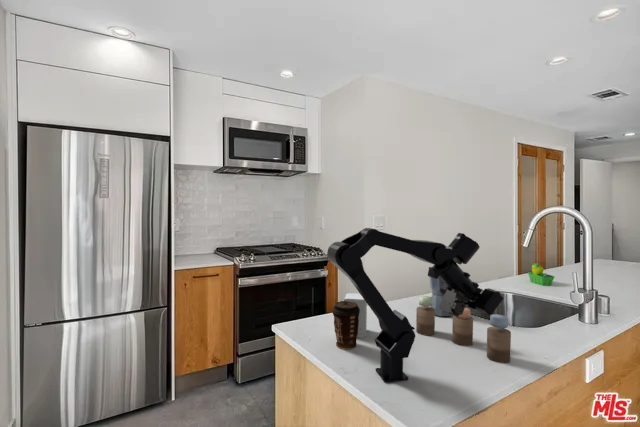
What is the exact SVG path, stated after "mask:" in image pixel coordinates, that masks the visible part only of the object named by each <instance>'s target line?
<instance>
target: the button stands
mask: <svg viewBox="0 0 640 427" xmlns="http://www.w3.org/2000/svg"><path fill="white" fill-rule="evenodd" d="M415 315H416V316H415V317H416V320H415V323H416V324H415V326H416V327H415V329H416V330H415V332H416V333H417V334H419V335H422V336H434V335H435V332H436V331H435V329H436V325H435V324H436V321H435V320H436V315H435V309H434V308H431V307H425V306H421V305H419V306H416V314H415ZM451 331H452V333H451V335H452V337H451V339H452V340H451V341H452V343H454V344H455V345H458V346H462V347H470V346H471V347H472V345H473V344H474V343H473V341H474V317H473V316H471V315H470V318H469V319H461V318H458V317H456V316H454V315H452V330H451ZM511 332H512V331H511V330H509V329H507V328H497V327H494V326H489V327H487V328H486V358H487V359H489V360H490V361H492V362H495V363H500V364H509V363H510V362H511V352H512V351H511V343H512V342H511V341H512V340H511V338H512V333H511Z"/></svg>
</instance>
